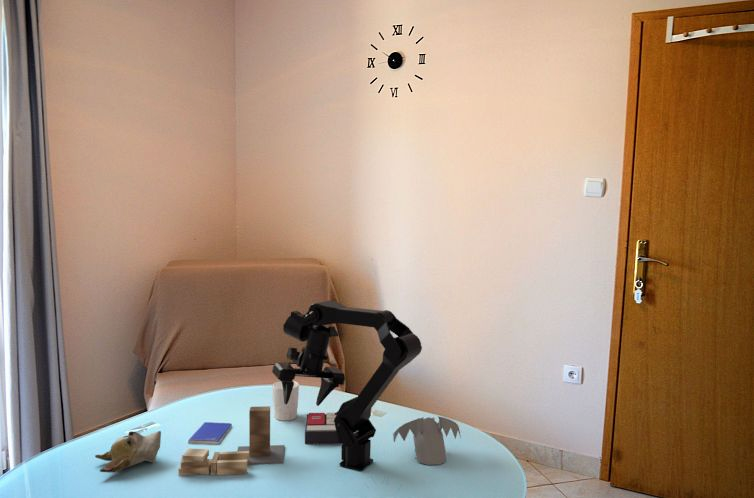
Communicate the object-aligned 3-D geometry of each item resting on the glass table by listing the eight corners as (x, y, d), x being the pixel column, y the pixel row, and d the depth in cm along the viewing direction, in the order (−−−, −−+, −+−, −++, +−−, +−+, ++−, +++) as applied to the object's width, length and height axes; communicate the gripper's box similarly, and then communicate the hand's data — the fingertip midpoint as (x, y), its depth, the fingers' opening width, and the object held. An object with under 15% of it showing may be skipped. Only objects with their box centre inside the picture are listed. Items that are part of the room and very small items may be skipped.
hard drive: (218, 440, 159) (231, 423, 171) (188, 439, 159) (204, 421, 172) (218, 446, 159) (231, 428, 171) (188, 444, 159) (204, 427, 172)
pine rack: (249, 462, 148) (249, 450, 148) (246, 473, 143) (246, 461, 142) (214, 463, 147) (214, 452, 147) (210, 475, 142) (210, 462, 141)
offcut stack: (212, 464, 147) (212, 446, 147) (208, 474, 142) (208, 456, 141) (182, 465, 146) (182, 447, 146) (178, 475, 141) (177, 457, 141)
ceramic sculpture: (165, 431, 145) (97, 448, 137) (167, 465, 146) (101, 483, 138) (155, 418, 154) (92, 432, 146) (158, 450, 155) (95, 466, 147)
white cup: (269, 414, 181) (269, 382, 180) (294, 410, 185) (294, 379, 184) (276, 423, 174) (276, 390, 173) (302, 419, 177) (302, 386, 177)
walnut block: (270, 451, 154) (270, 406, 153) (269, 456, 151) (269, 410, 150) (250, 451, 154) (250, 406, 153) (249, 456, 151) (249, 411, 150)
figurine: (455, 443, 162) (456, 404, 161) (468, 463, 150) (470, 421, 149) (390, 445, 160) (391, 406, 159) (398, 467, 148) (399, 424, 147)
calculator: (344, 411, 176) (345, 428, 161) (344, 425, 176) (345, 444, 161) (306, 411, 175) (304, 429, 160) (306, 426, 175) (304, 445, 160)
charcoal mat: (284, 446, 158) (284, 445, 158) (282, 463, 148) (282, 461, 148) (238, 447, 157) (238, 446, 157) (233, 465, 147) (233, 463, 147)
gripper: (334, 340, 165) (320, 393, 167) (272, 334, 156) (258, 390, 157) (352, 355, 156) (337, 410, 157) (287, 349, 146) (272, 408, 148)
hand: (301, 404), depth 155 cm, fingers open, 9 cm apart
